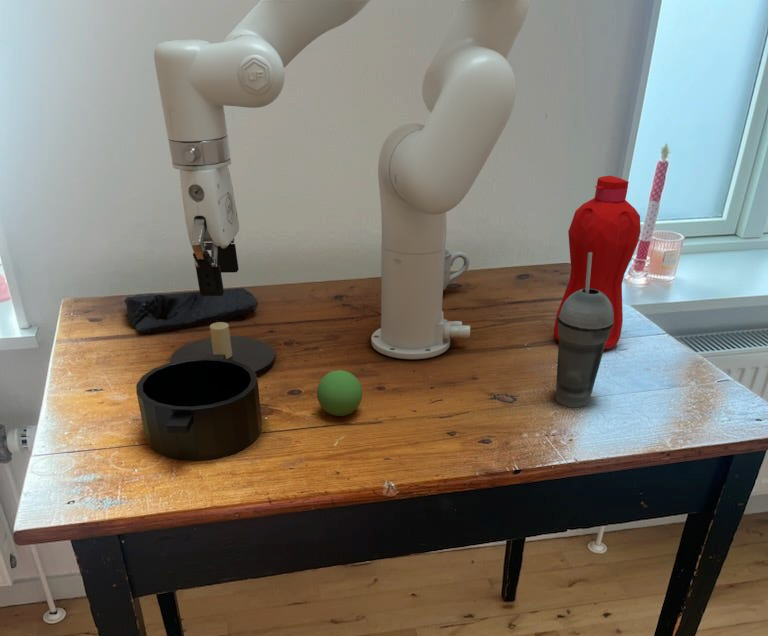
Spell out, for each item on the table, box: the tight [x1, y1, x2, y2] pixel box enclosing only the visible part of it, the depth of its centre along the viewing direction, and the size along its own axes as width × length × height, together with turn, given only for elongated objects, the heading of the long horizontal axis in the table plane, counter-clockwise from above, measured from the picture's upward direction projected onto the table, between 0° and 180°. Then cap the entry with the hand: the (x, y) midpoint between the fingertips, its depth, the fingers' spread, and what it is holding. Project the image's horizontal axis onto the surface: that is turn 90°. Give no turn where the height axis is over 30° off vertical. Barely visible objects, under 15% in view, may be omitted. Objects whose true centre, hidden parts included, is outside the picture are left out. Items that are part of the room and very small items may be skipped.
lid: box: [169, 321, 276, 376], centre depth 112 cm, size 16×16×6 cm
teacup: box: [443, 247, 470, 291], centre depth 138 cm, size 14×11×8 cm
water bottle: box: [553, 175, 642, 350], centre depth 115 cm, size 9×11×25 cm
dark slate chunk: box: [124, 287, 258, 334], centre depth 129 cm, size 15×22×5 cm
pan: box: [135, 354, 263, 462], centre depth 95 cm, size 15×20×7 cm
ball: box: [316, 369, 363, 417], centre depth 100 cm, size 6×6×6 cm
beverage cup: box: [555, 252, 614, 408], centre depth 99 cm, size 7×7×20 cm
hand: (220, 283), depth 107 cm, fingers open, 9 cm apart
